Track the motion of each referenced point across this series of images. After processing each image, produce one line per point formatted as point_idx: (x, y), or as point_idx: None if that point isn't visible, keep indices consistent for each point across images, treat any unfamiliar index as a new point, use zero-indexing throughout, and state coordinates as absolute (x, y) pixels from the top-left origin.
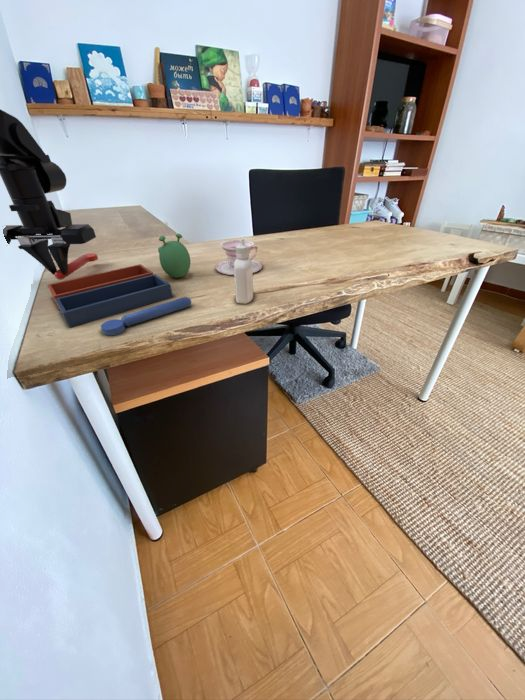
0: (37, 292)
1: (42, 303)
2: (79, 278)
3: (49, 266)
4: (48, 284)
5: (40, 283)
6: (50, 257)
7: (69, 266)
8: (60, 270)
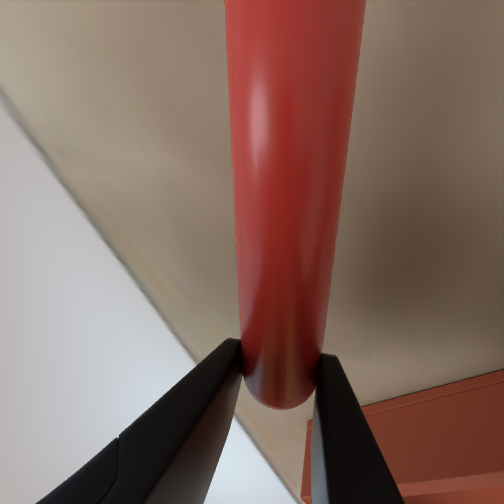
0: (185, 349)
1: (291, 453)
2: (500, 485)
3: (217, 457)
4: (307, 499)
5: (96, 227)
6: (170, 486)
7: (311, 275)
8: (289, 392)
